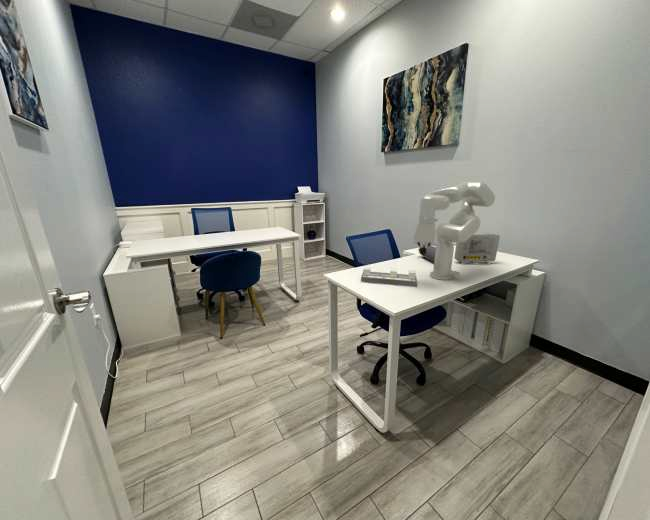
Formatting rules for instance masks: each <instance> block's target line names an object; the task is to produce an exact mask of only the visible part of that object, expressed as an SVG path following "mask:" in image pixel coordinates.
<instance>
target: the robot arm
mask: <svg viewBox="0 0 650 520" xmlns="http://www.w3.org/2000/svg"><path fill="white" fill-rule="evenodd" d="M495 200H496V196H495V193H494V192H493V190H492V189H491V188H490V186H488V184H487V183H485V182H483V181H474V180H473V181H471V180H470V181H469V180H468V181H463V182H461V183H459V184H456V185H454V186H451V187H447V188H443V189H438V190H434V191H431V192H429V193H427V194H424V195H423V196H422V197H421V198H420V205H419V214H418V222H417V223H416V225H415V229H414V236H413V238H414V239H413V244H414V245H417V246H418V247H420V253H421V254H420V253H419V254H420V256H423V255H425V254H426V248H427V247H428V246H430V245H431V246H433V245H435V247H436V252H435V260H434V263H433V268H432V269H433V270H432V271H431V272H430V273H429V276H430V277H431V278H432V279H437V280H442V281H449V280H453V278H454V276H460V271H456V270H452V266H453V259H454V253H455V251H454V250H455V249H454V248H455V247H454V244H453V243H464V242H466V241H467V240H468V239H469V238H470V237H471V236H472V235H473V234H477V232H478V230H479V229H480V226H481V218H480V217H479V216H477V215H476V212H475V209H474V207H483V208H487V207H488V208H489V207H491V206H492V205H494V203H495ZM459 202H461V207H460V208H461V209H460V210H459V211H457V212H456V213H455V214H454V215H453V216H452V217H451V218H450V219H449V221H448V222H442V223H440V224H438V225H437V227H436V223H437V222H438V218H435V217H436V211H445V210H447V209H448V208H449V207H450V204H454V203H459ZM435 240H436V242H435ZM422 244H425V246H424V247H423V245H422Z"/></svg>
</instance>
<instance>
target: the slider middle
mask: <svg viewBox="0 0 650 520" xmlns="http://www.w3.org/2000/svg"><path fill="white" fill-rule="evenodd" d="M389 273H390V277H394V278H397V274H398V269H397V268H390V271H389Z"/></svg>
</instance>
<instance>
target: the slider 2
mask: <svg viewBox="0 0 650 520" xmlns="http://www.w3.org/2000/svg"><path fill="white" fill-rule="evenodd" d="M407 275H408V276H409V279H415V278H417V270H416V269H408V274H407Z"/></svg>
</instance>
